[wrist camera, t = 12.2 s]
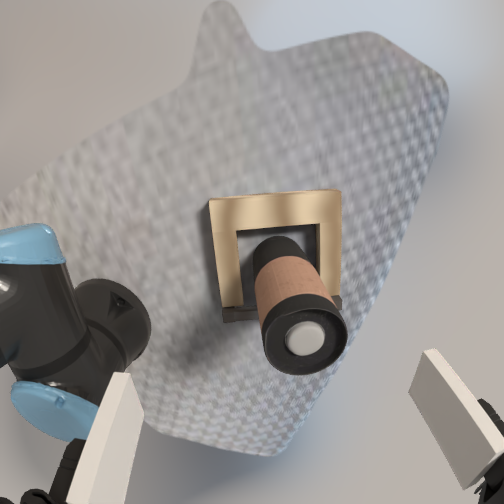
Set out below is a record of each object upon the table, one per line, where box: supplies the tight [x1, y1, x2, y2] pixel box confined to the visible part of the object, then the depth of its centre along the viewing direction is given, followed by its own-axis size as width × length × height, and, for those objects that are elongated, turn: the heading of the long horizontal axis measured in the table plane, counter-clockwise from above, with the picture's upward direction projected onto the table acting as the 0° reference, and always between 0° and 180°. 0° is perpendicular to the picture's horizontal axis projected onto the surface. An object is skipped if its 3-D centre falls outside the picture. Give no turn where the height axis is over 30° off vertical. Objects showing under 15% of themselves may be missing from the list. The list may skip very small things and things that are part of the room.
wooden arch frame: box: [209, 189, 342, 323], centre depth 42 cm, size 17×17×4 cm
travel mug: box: [253, 236, 348, 375], centre depth 35 cm, size 8×8×20 cm
